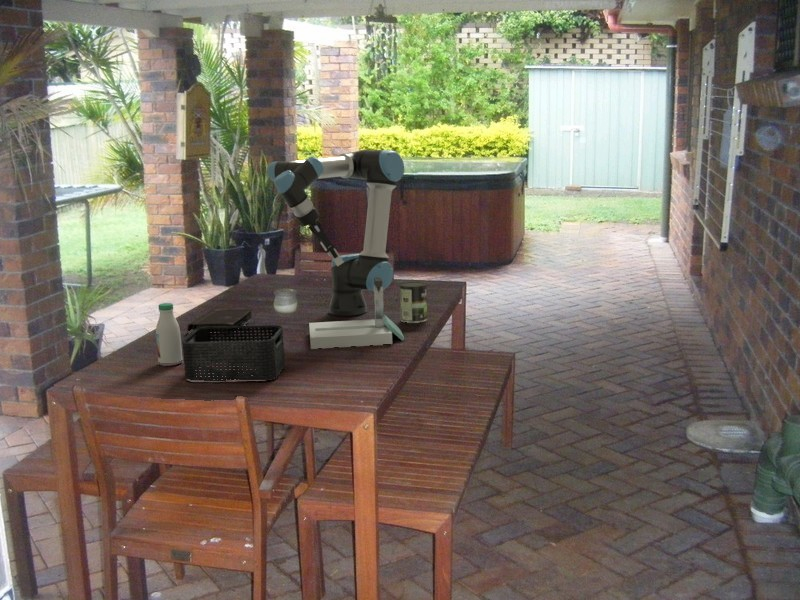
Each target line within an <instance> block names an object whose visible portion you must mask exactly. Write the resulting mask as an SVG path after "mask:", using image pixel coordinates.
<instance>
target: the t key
mask: <svg viewBox="0 0 800 600" xmlns="http://www.w3.org/2000/svg"><path fill="white" fill-rule="evenodd" d="M373 298H374V299H373V301H374V303H373V304H374V319H375V328H381V327H385V323H384V315H385V312H384V311H385V310H384V309H385V308H384V306H385V305H384V290H383V282H382V279H381V277H376V278H374V291H373Z"/></svg>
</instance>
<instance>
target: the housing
mask: <svg viewBox="0 0 800 600" xmlns="http://www.w3.org/2000/svg"><path fill="white" fill-rule="evenodd" d="M384 323H385V322H384ZM308 324H309V325H308V328H309V340H310V342H309V343H310V349H311V350H319V349H318V348H322V349H335V348H334V347H339V348H350V347H351V346H356V347H369V346H370V345H373V346H384V345H383V344H391V345H393V332H392V331H391V330H390V329H389V328H388V327H387V326H386V325H385V327H381V328H375V318H374V319H360V320H359V319H355V320H341V321H340V320H337V321H323V322H322V321H321V322H317V321H316V322H308ZM351 348H352V347H351Z"/></svg>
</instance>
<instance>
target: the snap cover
mask: <svg viewBox="0 0 800 600" xmlns="http://www.w3.org/2000/svg"><path fill="white" fill-rule="evenodd" d="M384 322H385V325H386V326H387V327H388V328H389V329H390V330H391V332H392V334H394V335H395V336H397V338H398V339H400V340H401V341H402V342H403V341H404V340H405V336H404V335H403V332H402V330H401V329H400V328H399V327H398V326H397V325H396V323H394V322H393V321H392V320H391V319H390V318H389V317H388V316H387V315H386V314H384Z"/></svg>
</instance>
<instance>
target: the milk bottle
mask: <svg viewBox="0 0 800 600" xmlns="http://www.w3.org/2000/svg"><path fill="white" fill-rule="evenodd" d="M158 312H159V315H158V317H159V318H158V320H157V323H156V327H155V338H156V340H155V341H156V351H157V361H158V362H160V363H175V362H179V361H181V360H183V346H182V337H181V336H182V335H181V330H180V324H179V322H178V321H177V319H176V317H175V315H174V303H172V302H163V303H159V304H158Z"/></svg>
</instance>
